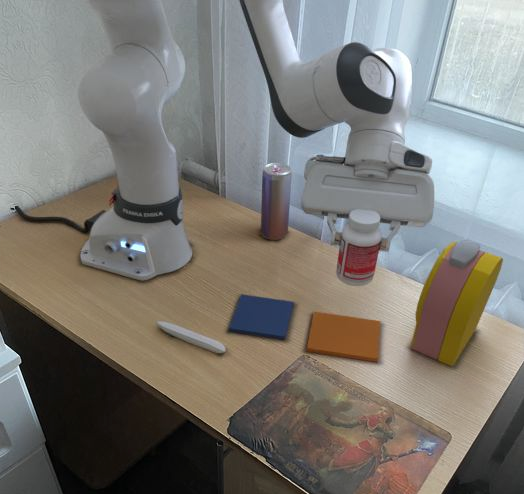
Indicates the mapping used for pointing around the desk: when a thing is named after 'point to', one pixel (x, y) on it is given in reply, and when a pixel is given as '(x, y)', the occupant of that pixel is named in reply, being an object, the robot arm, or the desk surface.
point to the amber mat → (344, 336)
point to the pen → (192, 337)
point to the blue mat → (262, 317)
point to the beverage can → (275, 200)
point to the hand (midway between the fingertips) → (359, 247)
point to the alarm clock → (454, 300)
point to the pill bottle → (359, 248)
